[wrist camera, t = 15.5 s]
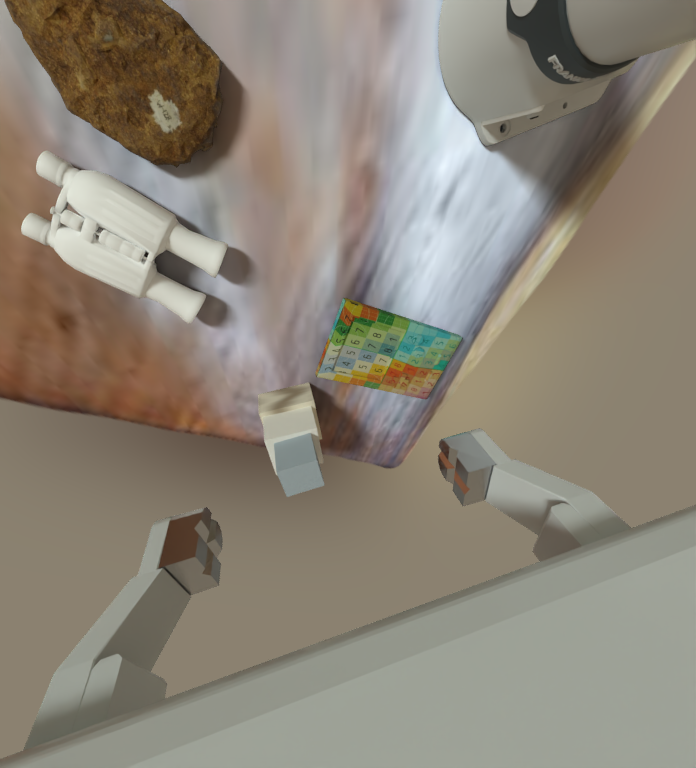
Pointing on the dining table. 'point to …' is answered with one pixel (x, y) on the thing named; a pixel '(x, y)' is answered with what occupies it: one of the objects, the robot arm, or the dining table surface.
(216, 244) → the binoculars
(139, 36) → the decorative rock
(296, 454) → the grey cube
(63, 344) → the dining table surface
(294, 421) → the white block
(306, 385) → the birch slab
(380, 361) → the puzzle game
